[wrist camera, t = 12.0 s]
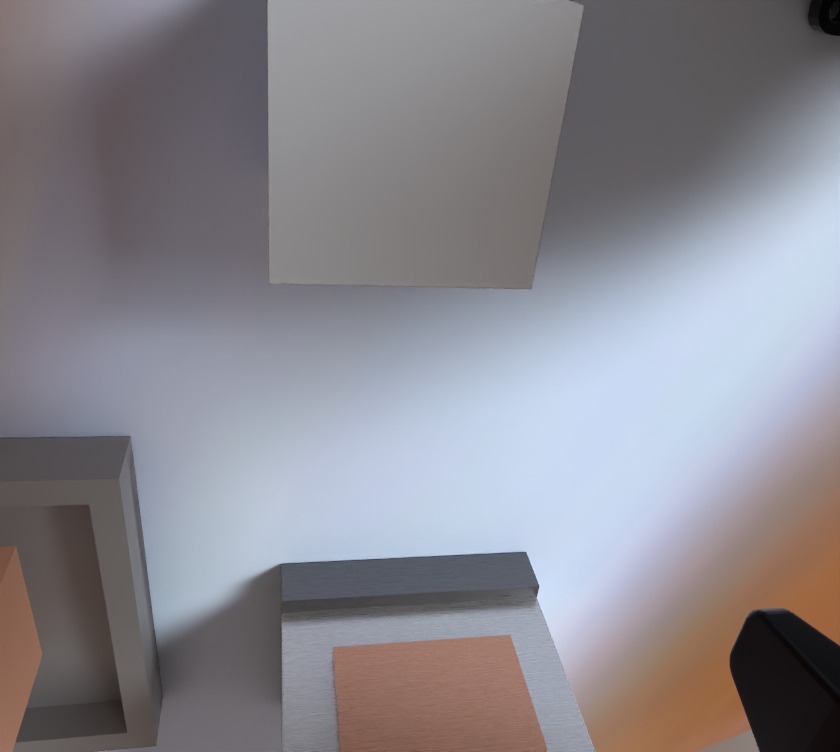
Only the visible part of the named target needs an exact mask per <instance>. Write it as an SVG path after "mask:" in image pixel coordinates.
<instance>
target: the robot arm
mask: <svg viewBox="0 0 840 752" xmlns="http://www.w3.org/2000/svg"><path fill="white" fill-rule="evenodd" d="M836 1H837V0H811V3H810V6H809V12H808V20H809V25H810V26H811V27H812V28H813V30H815V31H818V32H820V33H824V34H829V35H835V36H840V4H839V10H838V12H837V14H836V16H835V17H833V18H832V19H831V20H830V18H829V10H830V8H831V6H832V5H833V3H834V2H836ZM838 1H839V3H840V0H838ZM730 670H731V674H732V677H733V680H734V683H735V685H736V688H737V691H738V694H739V696H740V699H741V702H742V705H743V707H744V710H745V713H746V715H747V718H748V721H749V724H750V726H751V729H752V732H753V734H754V737H755V740H756V743H757V746H758V748H759V751H760V752H840V646H839V645H838V644H836V643H835V642H834V641H832V640H831V639H829V638H828V637H827V636H825V635H824V634H822V633H821V632H819V631H818V630H817V629H815V628H814V627H812V626H811V625H809V624H808V623H807V622H805V621H804V620H802V619H801V618H799V617H798V616H797V615H795V614H794V613H792V612H790V611H789V610H786V609H783V608H768V609H756V610H753V611H752V612H750V613H749V614H748V616H747V617H746V619H745V621H744V624H743V626H742V628H741V630H740V632H739V635H738V637H737V639H736V641H735V643H734V646H733V648H732V650H731V653H730Z"/></svg>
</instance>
